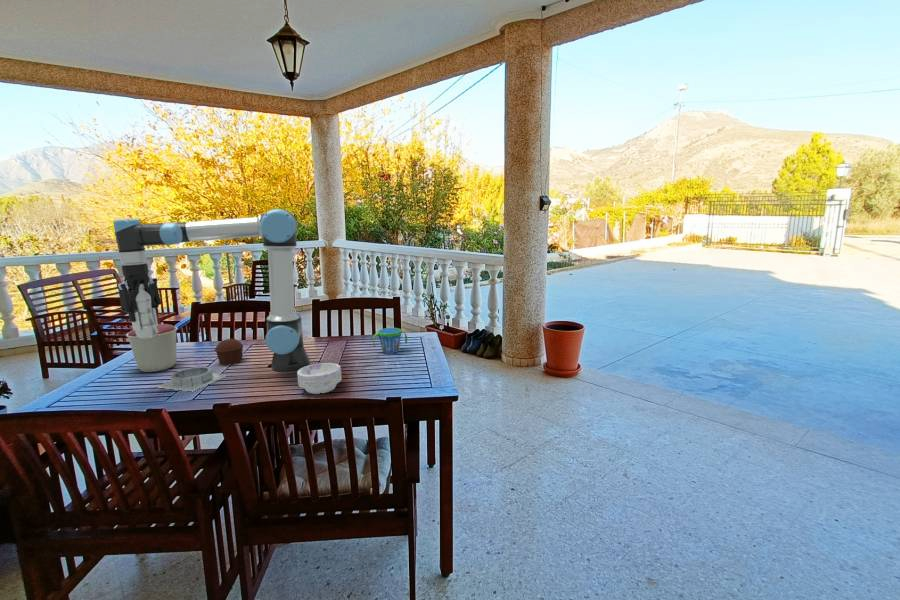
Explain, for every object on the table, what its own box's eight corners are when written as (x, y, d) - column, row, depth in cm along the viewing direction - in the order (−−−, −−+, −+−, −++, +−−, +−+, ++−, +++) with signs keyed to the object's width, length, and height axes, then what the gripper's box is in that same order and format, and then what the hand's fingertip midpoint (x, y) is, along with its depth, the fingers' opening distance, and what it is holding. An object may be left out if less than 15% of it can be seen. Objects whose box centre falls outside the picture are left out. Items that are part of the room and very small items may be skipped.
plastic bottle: (148, 340, 156) (137, 284, 152) (132, 340, 157) (121, 285, 153) (163, 335, 162) (153, 281, 158) (147, 335, 163) (137, 282, 160)
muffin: (219, 359, 198) (216, 337, 197) (246, 356, 202) (243, 335, 200) (214, 367, 187) (211, 345, 185) (242, 364, 191) (240, 342, 189)
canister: (184, 369, 186) (177, 320, 182) (132, 379, 176) (123, 327, 172) (180, 358, 201) (174, 313, 197) (132, 367, 190) (124, 319, 186)
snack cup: (373, 356, 197) (372, 334, 195) (373, 349, 207) (372, 328, 205) (408, 354, 199) (407, 332, 197) (406, 347, 210) (406, 326, 208)
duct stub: (225, 376, 176) (224, 367, 175) (192, 392, 161) (191, 381, 160) (193, 373, 181) (192, 364, 180) (158, 388, 166) (156, 378, 165)
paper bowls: (317, 379, 171) (315, 359, 169) (350, 384, 165) (349, 364, 163) (289, 394, 157) (287, 373, 155) (324, 400, 151) (322, 378, 150)
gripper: (150, 260, 164) (161, 321, 169) (98, 267, 146) (112, 334, 151) (166, 260, 162) (176, 321, 167) (115, 267, 144) (128, 335, 149)
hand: (145, 327), depth 159 cm, fingers closed on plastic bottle, 6 cm apart
